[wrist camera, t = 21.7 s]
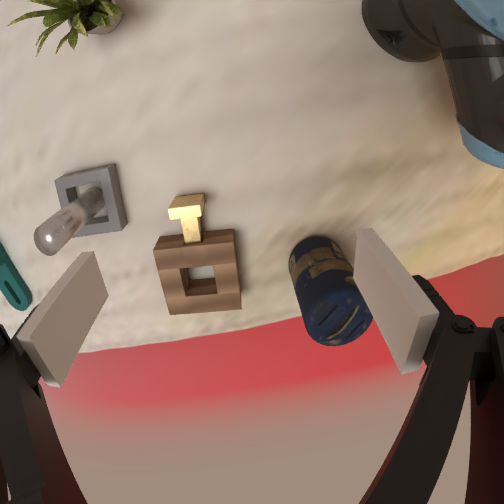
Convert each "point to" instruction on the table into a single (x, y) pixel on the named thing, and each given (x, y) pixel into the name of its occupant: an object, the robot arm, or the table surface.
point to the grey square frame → (110, 193)
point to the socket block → (200, 290)
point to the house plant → (77, 18)
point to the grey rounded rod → (68, 221)
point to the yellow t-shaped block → (188, 216)
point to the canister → (328, 293)
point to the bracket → (13, 283)
